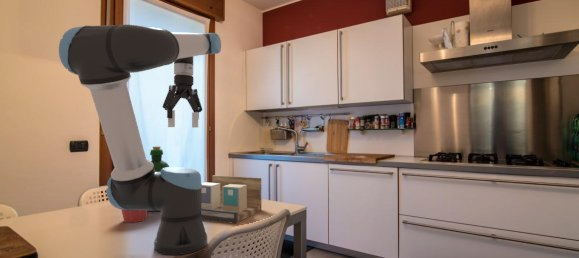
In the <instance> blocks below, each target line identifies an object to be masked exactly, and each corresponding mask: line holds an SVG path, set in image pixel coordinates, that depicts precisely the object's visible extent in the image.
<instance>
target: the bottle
mask: <svg viewBox="0 0 579 258" xmlns="http://www.w3.org/2000/svg"><path fill="white" fill-rule="evenodd" d="M149 155H150V156H151V160H150V161H151V162H152V163H153V165H154V169H155V172H160V171H161V169H162V168H166V167H170V165H169V164H168V163H167V161H164V160H162V158H163V155H164V152H163V149H161V146H159V145H158V146H152V149H150V152H149ZM147 212H152V213H153V212H157V211H151V210H147Z"/></svg>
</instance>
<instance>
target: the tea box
mask: <svg viewBox="0 0 579 258" xmlns="http://www.w3.org/2000/svg"><path fill="white" fill-rule="evenodd" d="M246 209H247V185H238V184H229V185H225V186H222V210H223V211H232V212H241V211H243V210H246Z"/></svg>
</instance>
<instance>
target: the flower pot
mask: <svg viewBox="0 0 579 258" xmlns="http://www.w3.org/2000/svg"><path fill="white" fill-rule="evenodd" d="M120 210H121V214H122V218H123V219H122V220H123V222H125V223H138V222H142V221H145V220H146V219H147V215H148V211H147V210H133V211H130V210H123V209H120Z"/></svg>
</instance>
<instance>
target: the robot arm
mask: <svg viewBox="0 0 579 258" xmlns="http://www.w3.org/2000/svg"><path fill="white" fill-rule="evenodd" d="M220 37H221V36H220V35H219V34H218V33H215V32H206V33H205V32H204V33H203V32H202V33H199V32H196V33H195V32H171V31H169V30H168V29H164V28H157V27H156V28H155V27H148V26H143V25H142V26H141V25H137V24H136V25H134V24H114V25H112V24H110V25H109V24H108V25H106V24H105V25H83V26H75V27H72V28H69V29H68V30H67V31H65V32H64V33H63V34H62V38H60V39H59V40H60V41H59V44H58V56H59V60H60V62H61V64H62V66H63V68H65V69H66V70H67V71H68V72H69V73H71V74H72V75H73V74H74V75H76V76H77V77H78V80H79V83H80V85H82V86H83V87H84V88H85V87H86V88H87V89H88V90H89V91H90V93H91V94H90V95H91V98H92V100H93V103H94V108H95V110H96V112H97V116H98V120H99V123H100V125H101V128H102V131H103V135H104V139H105V142H106V145H107V148H108V151H109V155H110V157H111V160H112V164H113V167H114V168H113V170H112V171H111V173H110V177H109V179H108V180H107V183H106V187H107V188H106V190H105V191H106V196H107V199H108V200H107V201H108V202H109V203H110V205H112V206H113V207H114V208H116V209H118V210H121V209H123V210H130V211H133V210H151V211H156V212H160V223H159V226H158V230H157V234H156V237H155V239H154V242H153V246H154V247H153V248H154V249H153V251H155V252H156V253H157V254H159V255H164V256H165V255H166V256H179V255H185V254H190V253H194V252H197V251H200V250H201V249H203V248H204V247H206V246H207V245H208V234H207V232H206V229H205V226H204V223H203V219H202V218H201V191H202V184H201V183H202V175H201V173H200V172H199V171H198V170H196V169H193V168H189V167H182V166H181V167H180V166H177V167H176V166H169V167H166V168H162V169H161V171H160V172H155V169H154V165H153V163H152V162H151V161H152V160H149V159H147V157H146V153H145V148H144V146H143V142H142V138H141V134H140V130H139V126H138V122H137V119H136V115H135V111H134V108H133V104H132V100H131V97H130V93H129V87H128V82H129V81H130V79H131V77H132V75H131V73H132V74H133V73H134V74H135V73H141V72H145V71H149V70H154V69H156V68H160V67H164V66H169V65H171V64H173V74H174V76H173V83H174V84H169V85H168V91H167V94H166V97H165V99H164V101H163V104H162V108H163V109H164V110H165V111H166V118H167V127H168V128H175V127H176V110H174V108H175V107H176V105H178V103H179V101H180V100H181V99H184V100H186V101H187V102H188V104H189V106H190V108H191V110H192V112H191V128H199V120H200V113H201V112H202V111H203V107H202V103H201V100H200V98H199V94H198V93H199V92H198V89H197V88H193V86H194V57H198V56H205V55H216V54H217V55H218V54H220V53H221V51H222V40H221V38H220ZM151 211H150V212H151Z"/></svg>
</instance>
